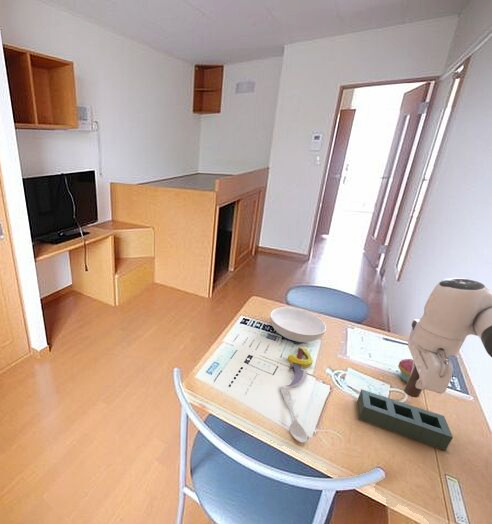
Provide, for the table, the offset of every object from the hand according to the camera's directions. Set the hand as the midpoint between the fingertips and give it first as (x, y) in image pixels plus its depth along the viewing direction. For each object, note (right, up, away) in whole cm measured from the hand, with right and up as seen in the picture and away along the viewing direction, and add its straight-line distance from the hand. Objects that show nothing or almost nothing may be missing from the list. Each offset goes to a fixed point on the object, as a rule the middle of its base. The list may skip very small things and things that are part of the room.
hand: (416, 381), depth 82 cm
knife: (-19, -6, +26) cm, 33 cm away
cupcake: (+18, -8, +22) cm, 30 cm away
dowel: (0, -4, +2) cm, 4 cm away
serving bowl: (-10, +2, +46) cm, 47 cm away
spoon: (-29, -13, +9) cm, 34 cm away
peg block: (0, -15, +6) cm, 16 cm away
